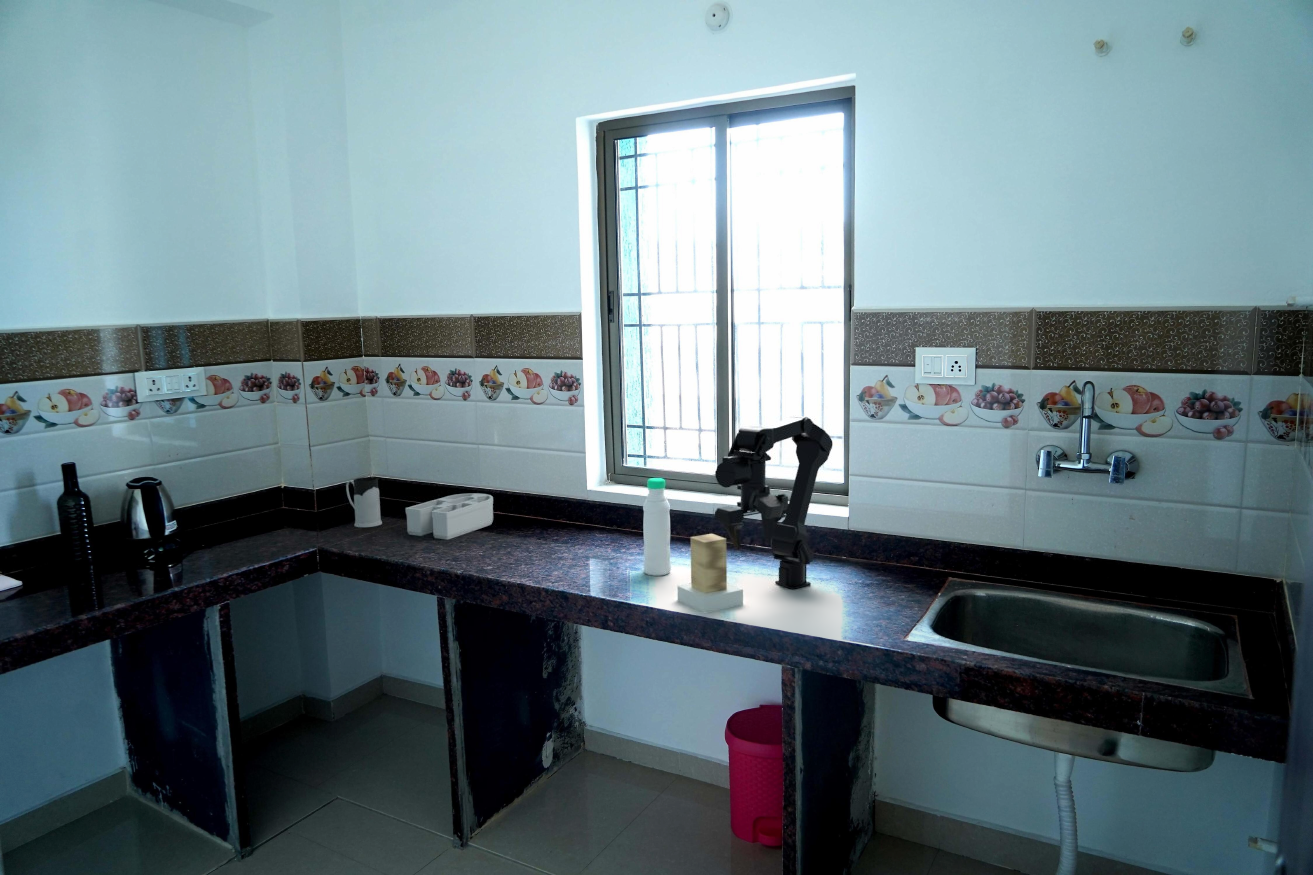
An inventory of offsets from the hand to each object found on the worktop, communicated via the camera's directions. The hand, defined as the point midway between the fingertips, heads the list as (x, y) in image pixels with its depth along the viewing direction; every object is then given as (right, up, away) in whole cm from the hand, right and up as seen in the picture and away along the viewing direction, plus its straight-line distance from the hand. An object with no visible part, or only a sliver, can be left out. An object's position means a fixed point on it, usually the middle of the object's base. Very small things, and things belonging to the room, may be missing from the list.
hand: (752, 546), depth 206 cm
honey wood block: (-10, -10, 0) cm, 14 cm away
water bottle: (-22, -10, +25) cm, 35 cm away
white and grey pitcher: (-120, -3, +84) cm, 146 cm away
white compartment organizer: (-87, -4, +77) cm, 116 cm away
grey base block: (-10, -14, +1) cm, 17 cm away
